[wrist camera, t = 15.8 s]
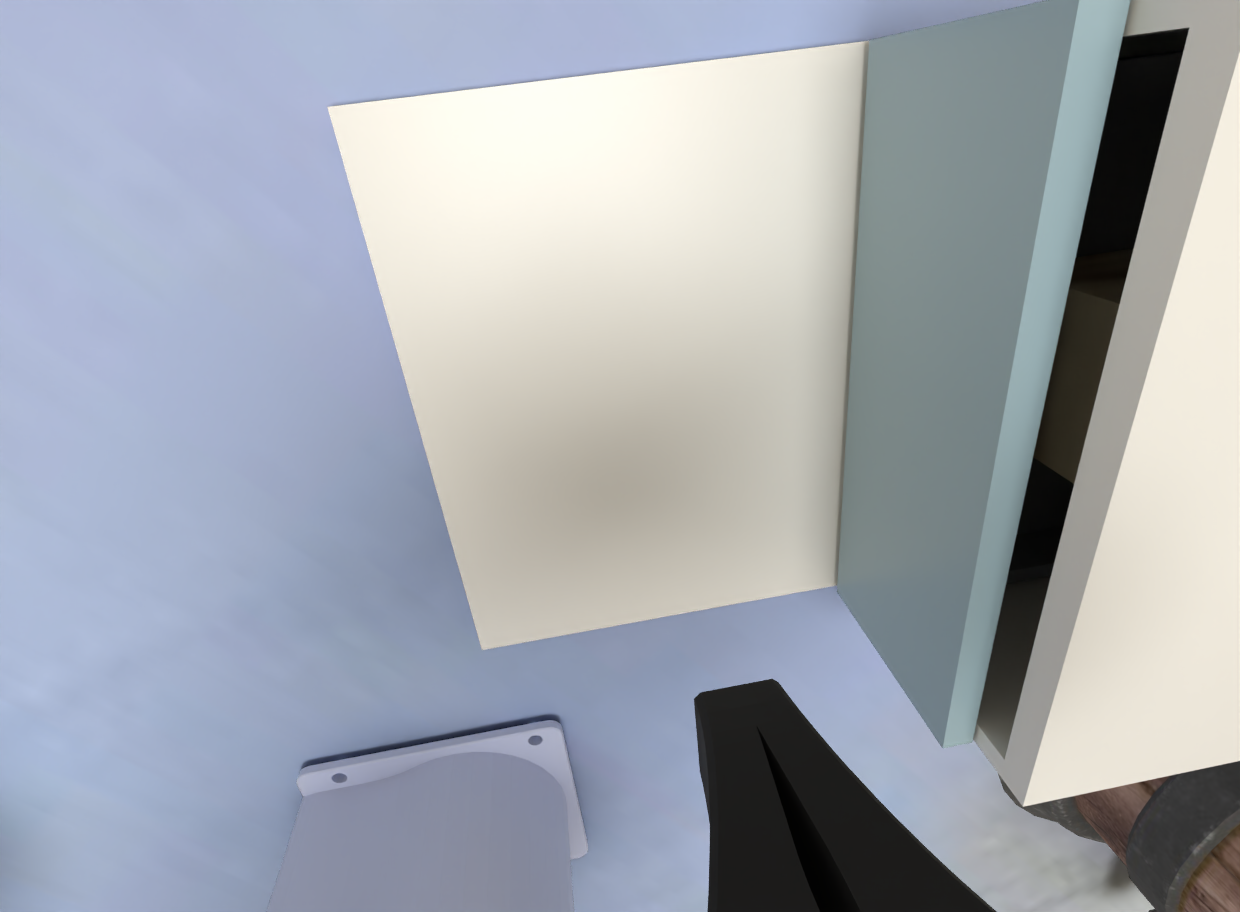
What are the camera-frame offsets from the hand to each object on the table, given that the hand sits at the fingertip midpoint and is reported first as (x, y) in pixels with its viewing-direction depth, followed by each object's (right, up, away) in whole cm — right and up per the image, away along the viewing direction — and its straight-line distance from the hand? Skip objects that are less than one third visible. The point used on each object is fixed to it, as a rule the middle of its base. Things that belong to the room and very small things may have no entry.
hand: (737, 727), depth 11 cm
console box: (+4, +7, +8) cm, 12 cm away
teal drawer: (+10, +8, +9) cm, 16 cm away
